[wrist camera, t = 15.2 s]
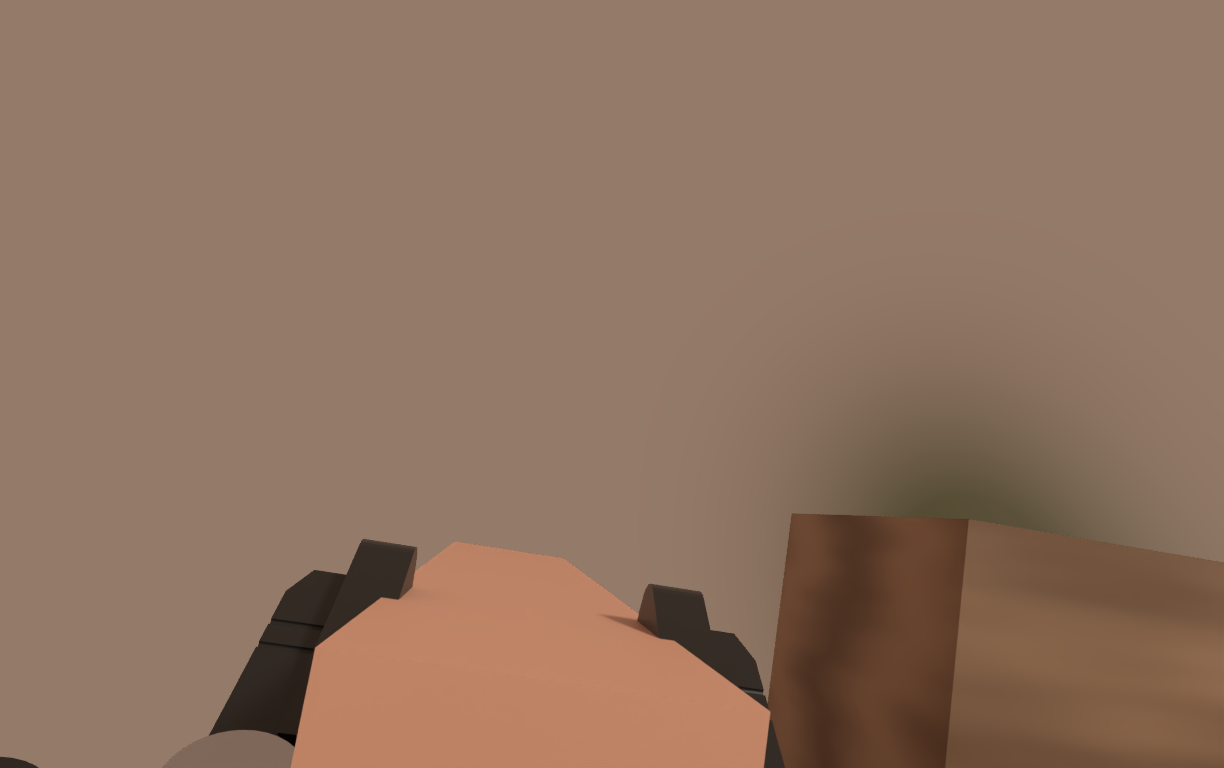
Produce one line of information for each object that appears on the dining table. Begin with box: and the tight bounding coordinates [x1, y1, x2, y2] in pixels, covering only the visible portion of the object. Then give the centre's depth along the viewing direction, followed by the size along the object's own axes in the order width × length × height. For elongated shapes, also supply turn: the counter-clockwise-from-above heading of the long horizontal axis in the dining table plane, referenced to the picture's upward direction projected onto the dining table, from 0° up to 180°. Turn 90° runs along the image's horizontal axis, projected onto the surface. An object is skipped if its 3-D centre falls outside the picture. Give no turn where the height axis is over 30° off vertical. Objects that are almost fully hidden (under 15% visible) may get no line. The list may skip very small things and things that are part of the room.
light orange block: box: [291, 542, 770, 768], centre depth 17 cm, size 22×4×4 cm, turn 7°
